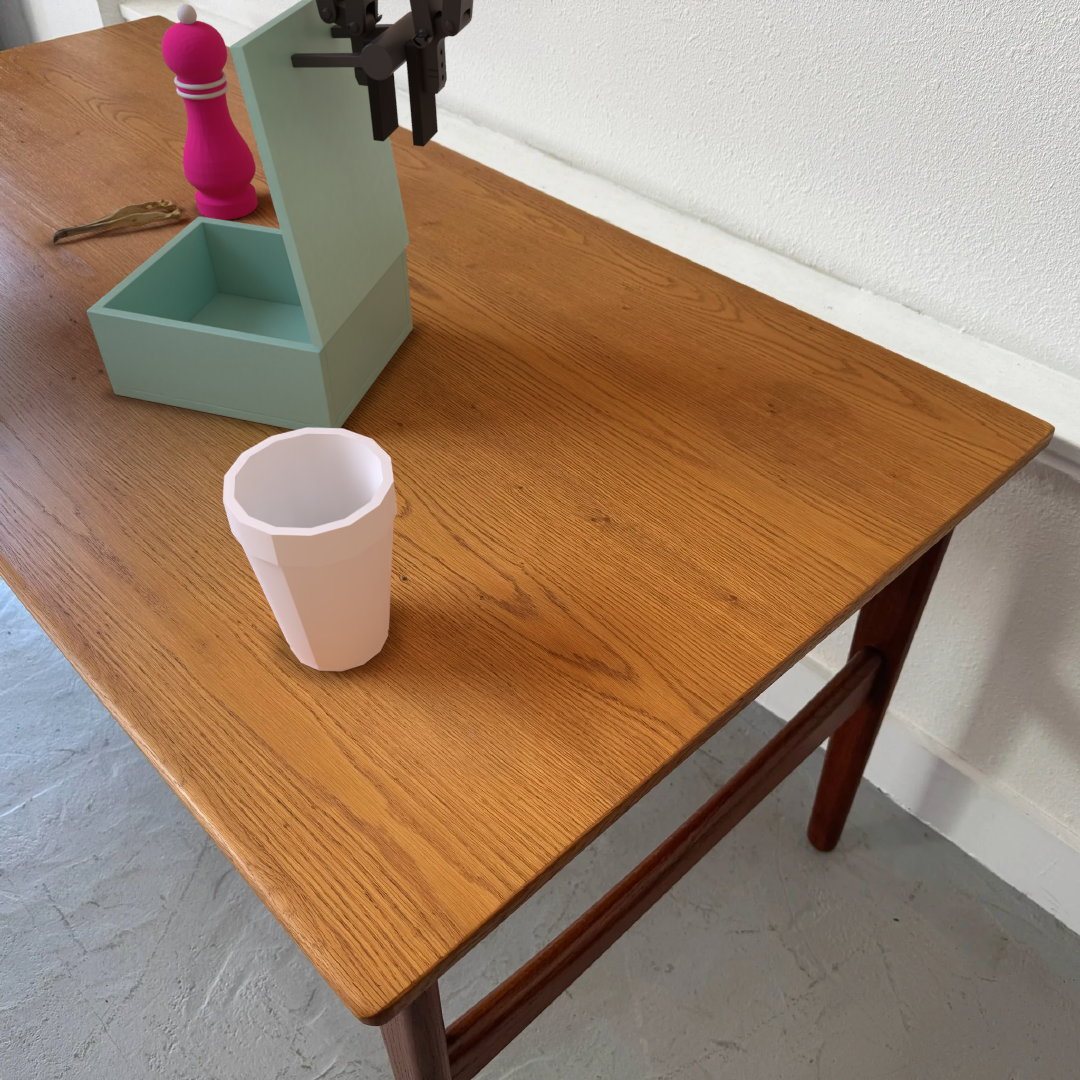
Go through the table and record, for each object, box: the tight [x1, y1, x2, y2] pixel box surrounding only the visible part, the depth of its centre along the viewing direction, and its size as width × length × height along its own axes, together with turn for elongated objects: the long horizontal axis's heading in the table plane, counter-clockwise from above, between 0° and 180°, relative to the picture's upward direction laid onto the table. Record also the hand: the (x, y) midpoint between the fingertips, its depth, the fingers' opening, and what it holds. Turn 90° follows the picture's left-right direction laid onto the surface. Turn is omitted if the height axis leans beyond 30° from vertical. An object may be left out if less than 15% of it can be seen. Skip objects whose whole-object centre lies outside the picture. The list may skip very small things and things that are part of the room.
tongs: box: [51, 198, 183, 245], centre depth 106 cm, size 4×13×2 cm, turn 126°
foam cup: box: [222, 427, 398, 672], centre depth 62 cm, size 10×9×13 cm
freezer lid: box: [229, 0, 415, 347], centre depth 73 cm, size 21×17×8 cm
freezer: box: [86, 216, 414, 431], centre depth 86 cm, size 20×17×8 cm
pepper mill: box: [161, 3, 259, 221], centre depth 103 cm, size 7×7×20 cm
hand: (405, 135), depth 71 cm, fingers closed on freezer lid, 2 cm apart
